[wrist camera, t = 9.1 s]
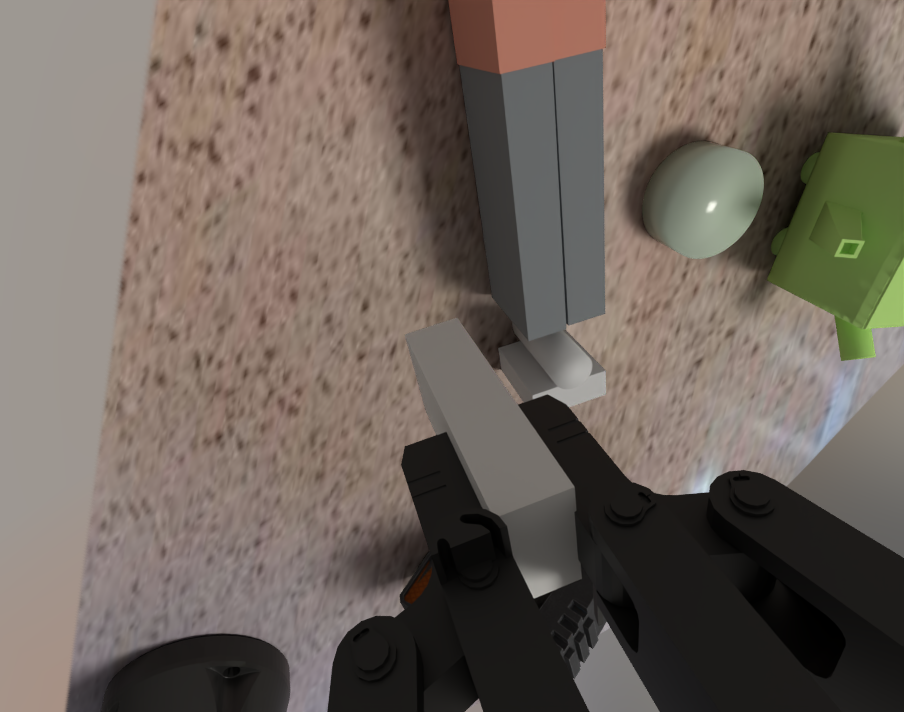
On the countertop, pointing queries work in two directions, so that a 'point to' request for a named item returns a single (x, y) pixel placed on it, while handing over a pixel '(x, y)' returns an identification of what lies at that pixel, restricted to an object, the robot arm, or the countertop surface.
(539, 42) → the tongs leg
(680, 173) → the grey-green pebble
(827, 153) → the kettle
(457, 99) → the countertop surface
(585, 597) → the tool
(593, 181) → the tongs base
